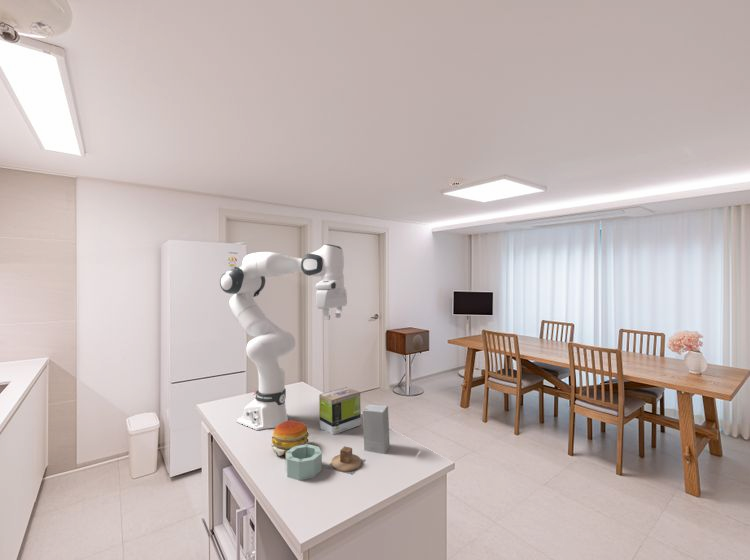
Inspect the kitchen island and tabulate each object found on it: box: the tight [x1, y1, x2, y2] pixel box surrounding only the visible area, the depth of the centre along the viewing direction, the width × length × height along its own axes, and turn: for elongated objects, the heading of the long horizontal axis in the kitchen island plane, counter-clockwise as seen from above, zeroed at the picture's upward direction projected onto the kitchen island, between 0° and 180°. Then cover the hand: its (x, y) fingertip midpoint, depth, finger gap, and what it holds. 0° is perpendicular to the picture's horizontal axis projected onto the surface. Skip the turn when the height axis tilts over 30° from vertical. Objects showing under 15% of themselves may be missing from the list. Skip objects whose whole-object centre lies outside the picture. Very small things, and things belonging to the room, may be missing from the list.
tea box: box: [318, 386, 362, 436], centre depth 148 cm, size 15×10×15 cm
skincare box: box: [362, 403, 391, 455], centre depth 128 cm, size 8×7×16 cm
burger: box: [271, 419, 310, 457], centre depth 128 cm, size 14×14×10 cm
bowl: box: [285, 443, 323, 481], centre depth 114 cm, size 11×11×6 cm
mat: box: [325, 458, 367, 476], centre depth 118 cm, size 10×10×1 cm
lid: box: [331, 446, 362, 473], centre depth 118 cm, size 10×10×5 cm
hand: (332, 318), depth 140 cm, fingers open, 8 cm apart
